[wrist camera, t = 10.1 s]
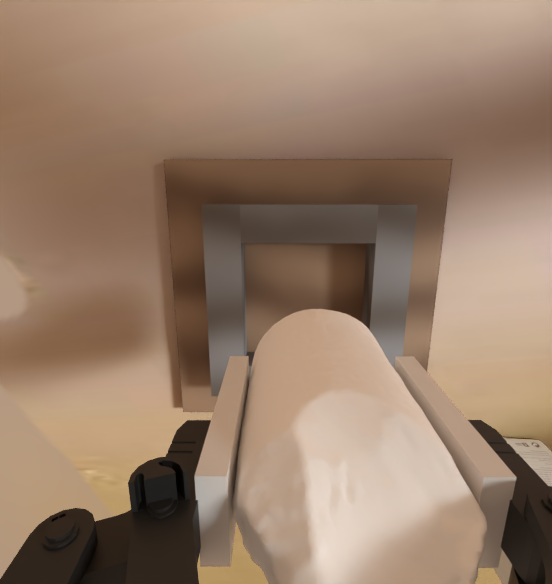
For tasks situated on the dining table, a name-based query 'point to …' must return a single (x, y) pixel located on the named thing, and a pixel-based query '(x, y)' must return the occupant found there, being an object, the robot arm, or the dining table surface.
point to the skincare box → (548, 469)
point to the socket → (300, 254)
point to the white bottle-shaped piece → (346, 466)
